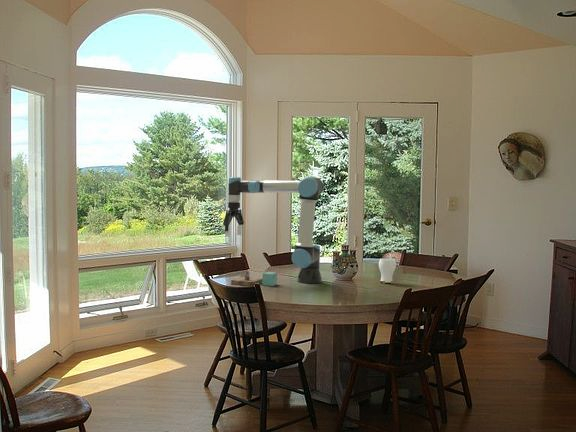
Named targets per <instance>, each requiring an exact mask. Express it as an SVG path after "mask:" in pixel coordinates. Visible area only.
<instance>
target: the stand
mask: <svg viewBox="0 0 576 432" xmlns="http://www.w3.org/2000/svg"><path fill="white" fill-rule="evenodd" d="M254 283H259V284H258V285H262V278H257V277H250V272H249V270H246V271H245V272H244V276H239V277H237V278H233V279H231V281H230V285H233V286H234V285H236V286H243V285H244V286H245V287H255V286H254ZM244 286H243V287H244Z"/></svg>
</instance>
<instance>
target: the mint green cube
mask: <svg viewBox="0 0 576 432" xmlns="http://www.w3.org/2000/svg"><path fill="white" fill-rule="evenodd" d="M261 279H262V283H261V285H262V286H270V287H271V286H272V287H273V286H276V285H277V284H278V273H277V272H275V271H274V272H272V271H266V272H262V278H261Z"/></svg>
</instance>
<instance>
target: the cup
mask: <svg viewBox="0 0 576 432" xmlns="http://www.w3.org/2000/svg"><path fill="white" fill-rule="evenodd" d="M396 262H397V261H396V259H394V258H387V257H386V258H380V259H379V261H378V268H379V269H378V270H379V272H380V275H381V277H380V281H385V282H391V281H393V275H394V272H395V271H396V267H397V263H396Z"/></svg>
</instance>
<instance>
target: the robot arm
mask: <svg viewBox="0 0 576 432" xmlns="http://www.w3.org/2000/svg"><path fill="white" fill-rule="evenodd" d="M241 178H242V177H238V176H231V177H228V183H227V185H228V188H227V189H228V190H227V191H228V192H227V193H228V196H227V198H228V199H227V200H228V202H227V208H228V209H226V211H225V215H224V219H223V222H222V225H223V226H224V229H225V230H224V231H225V233H224V235H225V236H224V237H230V236H231V235H230V232H231V231H230V230H231V228H230V227H231V226H230V224H231V222H232V219H234V218H235V220H236V222H237V228H236V236H242V228H243V227H242V226H243V225H244V224H245V221H244V216H243V213H242V209H241V193H245V194H259V193H260V194H261V193H262V194H263V193H264V194H265V193H267V194H269V193H271V194H272V193H273V194H275V193H276V194H278V193H279V194H281V193H282V194H284V193H286V194H298V199H299V201H300V202H301V203H300V213H299V222H298V224H299V225H298V235H297V242H296V243H295V244H294V250H293V252H292V254H291V261H292V264H293V265H294V266H295V267H296V268H299V272H298V275H297V278H296V279H297V282H299V283H304V284H319V283H322V281H323V280H322V279H323V278H322V275H321V271H320V263H321V262H320V260H321V246H320V245H318V244H313V237H314V236H313V235H314V226H315V214H316V204H317V202H318V201H319V199H320V198H319V197H320V195H321V194H322V193H323V191H324V189H325V188H324V187H325V186H324V185H325V184H324V183H323V181H322V180H321V178H319V177H316V176H315V177H314V176H306V177H303V178H302V179H300V180H242V179H241Z"/></svg>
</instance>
